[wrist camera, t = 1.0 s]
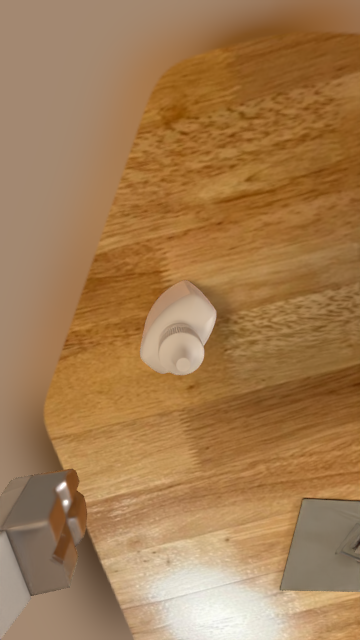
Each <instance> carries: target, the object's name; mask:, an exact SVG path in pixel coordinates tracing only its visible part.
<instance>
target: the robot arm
mask: <svg viewBox="0 0 360 640" xmlns="http://www.w3.org/2000/svg"><path fill="white" fill-rule="evenodd" d="M78 484H79V479H78V476H77V473H76V471H75V470H74V469H67V470H60V471H54V472H47V473H41V474H36V475H30V476H24V477H18V478H15V479H13V480H11V481H10V482H9V484H8V485H7V487H6V488H5V490H4V492H3V493H2V494H1V496H0V639H1V638H2V637H3V636H4V634H5V633H6V632H7V630H8V629H9V627H10V626H11V625H12V624H13V622H14V621H15V620H16V618H17V617H18V616H19V614H20V613H21V611H22V610H23V609H24V608H25V606H26V605H27V604H28V602H29V601H30V599H31V596H33V595H38V594H42V593H47V592H51V591H56V590H61V589H64V588H69V587H70V585H71V581H72V577H73V573H74V570H75V567H76V563H77V559H78V554H77V551H76V548H75V547H76V546H77V545H78V544H79V543H80V541H81V540H82V539H83V537H84V533H85V529H86V522H87V509H86V502H85V499H84V496H83V495H82V494H81V493H80V492H78V491H77V487H78Z"/></svg>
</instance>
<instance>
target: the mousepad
mask: <svg viewBox="0 0 360 640" xmlns="http://www.w3.org/2000/svg"><path fill="white" fill-rule="evenodd" d="M280 590H291V591H342V592H360V502H358V501H336V500H314V499H303V502H302V506H301V510H300V514H299V518H298V521H297V525H296V529H295V533H294V537H293V541H292V545H291V549H290V552H289V556H288V560H287V564H286V568H285V572H284V576H283V580H282V583H281V587H280Z"/></svg>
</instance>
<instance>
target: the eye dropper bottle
mask: <svg viewBox="0 0 360 640" xmlns="http://www.w3.org/2000/svg"><path fill="white" fill-rule="evenodd" d="M215 320H216V310H215V309H214V307H213V306H212V304H211V303H210V302H209V300H208V299H207V298H206V297H205V295H204V294H203V293H202V292H201V291H200V290H199V289H198V288H197V287H196V286H194V285H193V284H192V283H191V282H189V281H187V280H184V281H181V282H178V283H177V284H175V285H173V286H172V287H170V288H169V289H167V290H166V291H165V292H164V293H163V294H162V295H161V296H160V297H159V298H158V299H157V300H156V302H155V303H154V305H153V306H152V308H151V310H150V312H149V314H148V316H147V319H146V322H145V327H144V332H143V337H142V342H141V348H140V356H141V359H142V360H143V361H144V362H145V363H146V364H147V365H148V366H149V367H151V368H152V369H154V370H155V371H157V372H158V373H161V374H163V373H168V372H171V373H173V374H175V375H186V374H190V373H192V372H194V371H195V370H196V369H197V368H198V367H199V366H200V364H202V363H201V362H202V361H203V358H204V347H203V346H204V345H205V343H206V342H207V340H208V338H209V336H210V334H211V332H212V330H213V327H214V324H215Z"/></svg>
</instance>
